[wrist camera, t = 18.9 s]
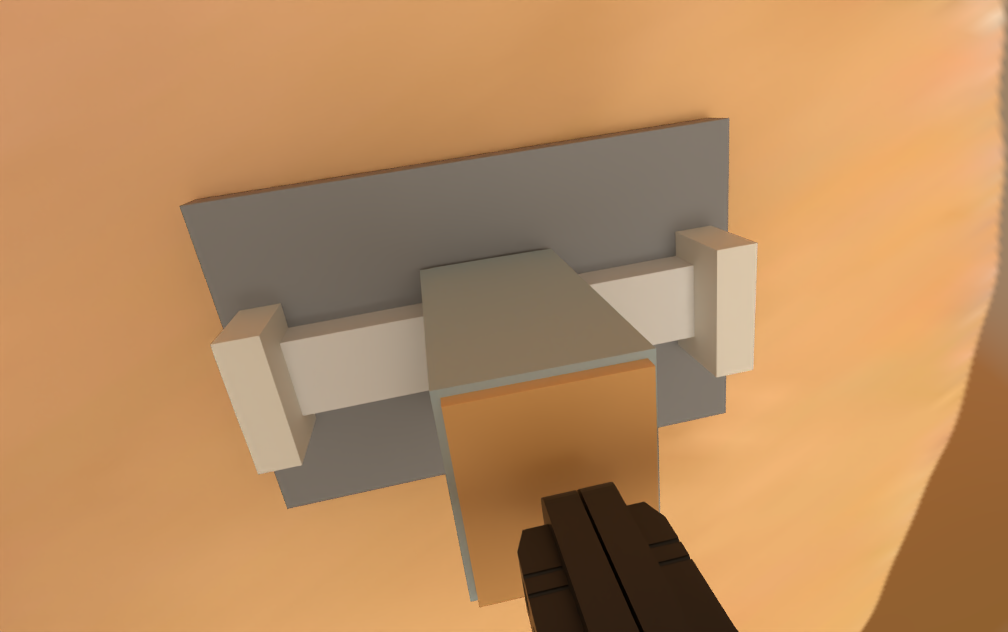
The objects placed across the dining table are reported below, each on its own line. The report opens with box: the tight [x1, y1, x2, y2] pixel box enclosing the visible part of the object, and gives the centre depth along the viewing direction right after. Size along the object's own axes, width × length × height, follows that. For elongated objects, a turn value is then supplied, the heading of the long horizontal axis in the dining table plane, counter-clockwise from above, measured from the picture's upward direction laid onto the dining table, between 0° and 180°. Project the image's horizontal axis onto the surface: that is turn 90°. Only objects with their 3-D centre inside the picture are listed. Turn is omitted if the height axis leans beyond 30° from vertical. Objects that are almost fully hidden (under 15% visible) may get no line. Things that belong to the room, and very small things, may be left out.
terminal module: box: [420, 249, 660, 607], centre depth 17 cm, size 5×6×10 cm
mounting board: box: [180, 118, 758, 509], centre depth 21 cm, size 20×13×5 cm, turn 98°
